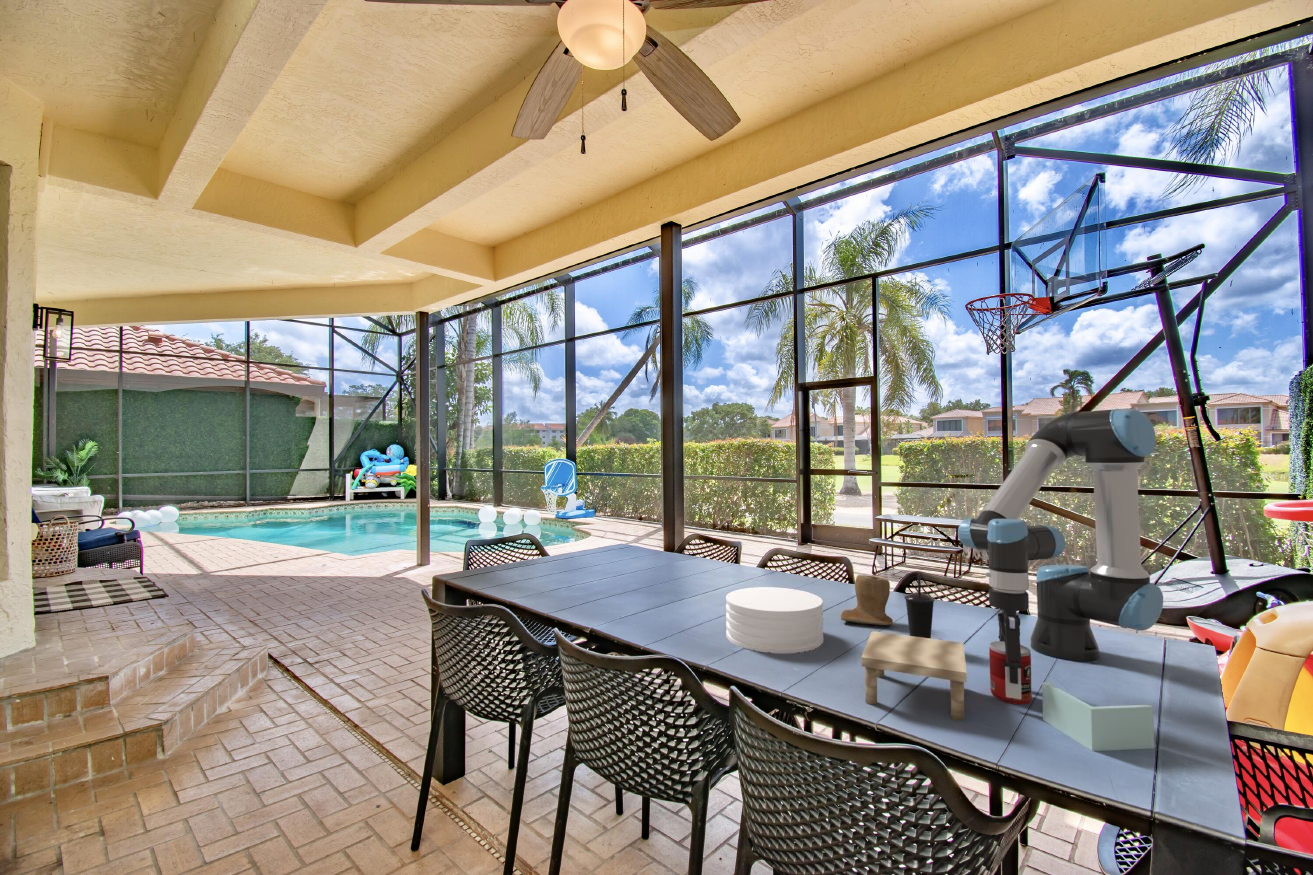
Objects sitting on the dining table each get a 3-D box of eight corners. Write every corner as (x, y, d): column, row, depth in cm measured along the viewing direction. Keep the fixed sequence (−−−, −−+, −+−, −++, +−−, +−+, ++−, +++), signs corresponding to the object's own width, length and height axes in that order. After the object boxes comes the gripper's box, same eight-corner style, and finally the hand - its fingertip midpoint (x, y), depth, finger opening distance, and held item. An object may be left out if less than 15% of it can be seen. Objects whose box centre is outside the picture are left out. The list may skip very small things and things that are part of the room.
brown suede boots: (893, 619, 184) (892, 573, 185) (892, 630, 173) (891, 580, 174) (844, 614, 190) (843, 569, 191) (840, 624, 179) (839, 576, 180)
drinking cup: (929, 642, 162) (928, 571, 162) (940, 651, 154) (938, 577, 155) (901, 641, 163) (900, 571, 163) (910, 651, 155) (909, 577, 156)
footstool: (964, 686, 132) (963, 642, 132) (967, 723, 114) (966, 672, 114) (872, 671, 141) (871, 630, 141) (862, 703, 123) (861, 656, 123)
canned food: (1018, 707, 121) (1017, 655, 121) (982, 693, 128) (981, 644, 128) (1039, 700, 124) (1038, 649, 124) (1003, 687, 131) (1002, 638, 131)
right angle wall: (1154, 748, 104) (1153, 706, 104) (1092, 750, 103) (1091, 708, 103) (1099, 717, 116) (1098, 680, 116) (1043, 719, 115) (1042, 682, 115)
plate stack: (834, 632, 172) (834, 594, 173) (805, 661, 149) (805, 616, 149) (748, 618, 187) (748, 583, 188) (710, 642, 164) (709, 602, 164)
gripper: (985, 576, 139) (986, 664, 139) (993, 600, 117) (995, 704, 116) (1021, 579, 136) (1023, 669, 135) (1036, 604, 114) (1038, 711, 113)
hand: (1010, 685), depth 126 cm, fingers open, 13 cm apart
